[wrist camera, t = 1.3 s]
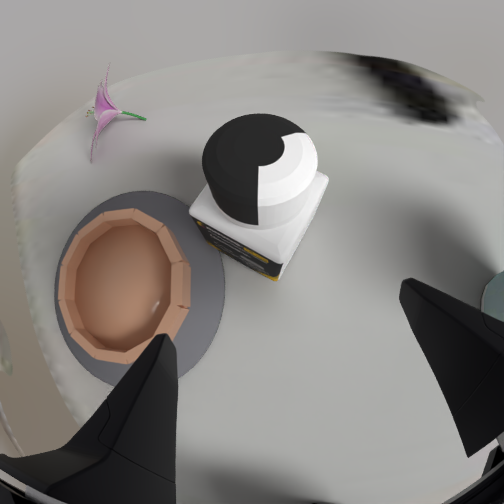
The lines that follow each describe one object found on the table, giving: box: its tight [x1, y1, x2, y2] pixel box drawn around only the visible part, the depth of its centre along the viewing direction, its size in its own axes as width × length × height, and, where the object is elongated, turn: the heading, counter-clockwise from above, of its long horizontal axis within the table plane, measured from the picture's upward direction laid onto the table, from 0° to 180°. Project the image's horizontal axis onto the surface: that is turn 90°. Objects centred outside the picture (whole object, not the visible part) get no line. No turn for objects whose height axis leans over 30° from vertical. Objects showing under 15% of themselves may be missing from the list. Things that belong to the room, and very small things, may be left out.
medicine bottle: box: [189, 114, 329, 281], centre depth 19 cm, size 7×7×12 cm
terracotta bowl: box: [58, 208, 191, 364], centre depth 23 cm, size 14×14×2 cm
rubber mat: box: [54, 191, 225, 386], centre depth 24 cm, size 20×20×1 cm
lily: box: [86, 66, 146, 160], centre depth 26 cm, size 12×12×10 cm
